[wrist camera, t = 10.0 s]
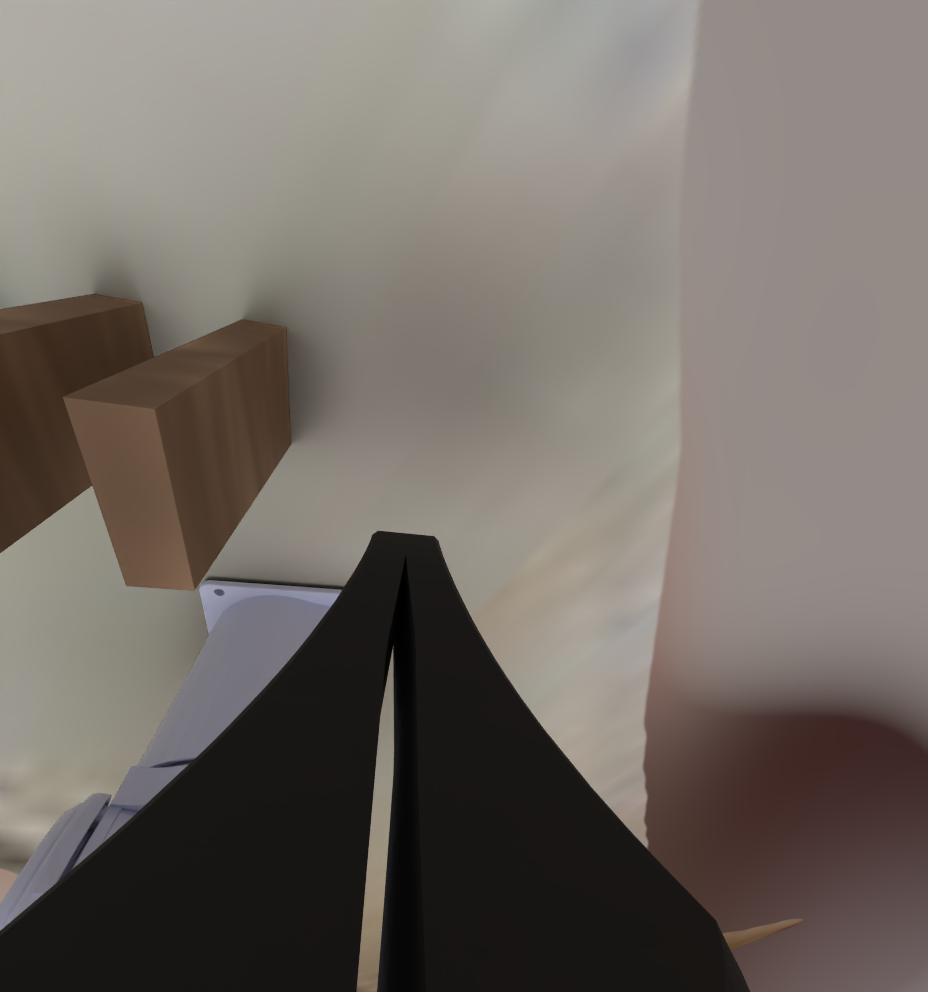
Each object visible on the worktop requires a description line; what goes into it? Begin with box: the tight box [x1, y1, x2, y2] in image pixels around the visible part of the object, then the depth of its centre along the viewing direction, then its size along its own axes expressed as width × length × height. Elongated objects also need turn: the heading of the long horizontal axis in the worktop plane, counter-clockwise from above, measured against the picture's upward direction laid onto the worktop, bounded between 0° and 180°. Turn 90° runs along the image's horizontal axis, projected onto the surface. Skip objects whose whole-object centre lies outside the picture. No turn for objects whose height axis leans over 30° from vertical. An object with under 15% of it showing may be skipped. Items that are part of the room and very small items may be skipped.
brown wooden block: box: [63, 320, 291, 591], centre depth 13 cm, size 2×5×9 cm, turn 170°
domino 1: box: [0, 294, 154, 553], centre depth 12 cm, size 2×5×9 cm, turn 170°
